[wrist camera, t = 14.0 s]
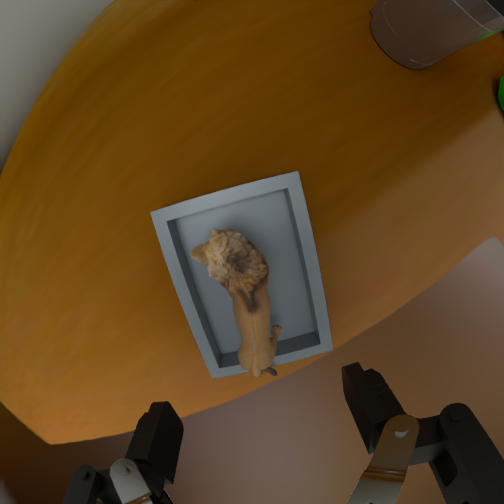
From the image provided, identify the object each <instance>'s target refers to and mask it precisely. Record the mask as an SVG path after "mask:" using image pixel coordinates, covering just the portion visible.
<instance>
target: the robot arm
mask: <svg viewBox="0 0 504 504" xmlns="http://www.w3.org/2000/svg"><path fill="white" fill-rule="evenodd" d="M370 12H371V14H372V20H371V30H372V34H373V36H374V38H375V40H376V41H377V43H378V44H379V46H380V47H381V48H382V49H383V51H384V52H385V53H386V54H388V55H389V56H390V57H391V58H392V59H393V60H395V61H396V62H398V63H399V64H401V65H403V66H405V67H408V68H411V69H423V68H425V67H427V66H429V65H432V64H434V63H435V62H437V61H438V60H440V59H443V58H444V57H446V56H448V55H450V54H452V53H454V52H456V51H458V50H460V49H462V48H464V47H466V46H469V45H471V44H473V43H475V42H477V41H479V40H481V39H484V38H486V37H488V36H490V35H493V34H495V33H497V32H500V31H502V30H504V0H379V1H378V2H377V3H376V5H375V6H374V7H373V8H372V9H371V11H370ZM342 380H343V391H344V395H345V399H346V402H347V404H348V406H349V409H350V411H351V413H352V416H353V418H354V420H355V423H356V425H357V427H358V430H359V432H360V434H361V437H362V439H363V442H364V444H365V446H366V449H367V451H368V454H371V453H374V454H373V456H372V458H371V461H370V463H369V465H368V467H367V469H366V470H365V471H364V472H363V474H362V476H361V477H360V479H359V481H358V483H357V486H356V487H355V489H354V491H353V493H352V495H351V497H350V498H349V500H348V502H347V504H395V502H396V500H397V497H398V495H399V493H400V490H401V487H402V485H403V482H404V479H405V476H406V472H407V469H408V466H410V465H415V464H420V463H424V462H428V463H429V465H430V467H431V469H432V471H433V474H434V476H435V478H436V481H437V483H438V485H439V488H440V490H441V492H442V495H443V497H444V500H445V502H446V504H504V460H503V458H502V456H501V455H500V453H499V452H498V450H497V448H496V447H495V445H494V444H493V442H492V441H491V439H490V438H489V436H488V434H487V433H486V431H485V430H484V429H483V427H482V426H481V424H480V423H479V421H478V420H477V418H476V417H475V416H474V414H473V413H472V411H471V410H470V408H469V407H467V406H466V405H465V404H462V403H454V404H450V405H448V406H446V407H445V408H444V409H443V410H442V412H441V413H440V415H437V416H433V417H428V418H421V419H419V418H414V417H413V416H411V415H408V414H406V413H405V411H404V410H403V408H402V407H401V405H400V403H399V402H398V400H397V399H396V397H395V396H394V394H393V392H392V391H391V390H390V388H389V387H388V385H387V383H386V382H385V380H384V379H383V377H382V376H381V374H380V373H378V372H376V371H375V370H373V369H369V370H366V371H363V369H362V367H361V365H360V364H359V363H358V362H355V363H352V364H350V365H346V366H344V367H342ZM183 431H184V428H183V424H182V421H181V420H180V418H179V416H178V415H177V413H176V412H175V410H174V409H173V407H172V406H171V404H170V403H169V402H168V401H164V402H153V403H152V404H151V406H150V409H149V412H147V413H144V415H143V416H142V417H141V418H140V419H139V421H138V424H137V426H136V429H135V432H134V436H133V437H132V440H131V442H130V445H129V448H128V451H127V453H126V456H125V459H122V460H119V461H117V462H116V463H114V464H113V465H112V467H111V469H106V470H99V471H97V470H95V468H93V467H92V466H91V465H88V464H85V465H81V466H79V467H78V468H77V469H76V470H75V471H74V473H73V476H72V478H71V481H70V484H69V486H68V489H67V492H66V495H65V497H64V500H63V503H62V504H96V501H97V500H99V501H100V503H99V504H174V503H173V502H172V500H171V499H170V497H169V496H168V494H167V493H166V491H165V490H164V489H163V488H164V484H173V483H174V477H175V473H176V467H177V462H178V457H179V452H180V446H181V442H182V437H183Z"/></svg>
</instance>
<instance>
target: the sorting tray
mask: <svg viewBox="0 0 504 504" xmlns="http://www.w3.org/2000/svg"><path fill="white" fill-rule="evenodd" d="M150 213H151V216H152V220H153V223H154V226H155V230H156V233H157V236H158V239H159V242H160V246H161V249H162V252H163V255H164V258H165V261H166V264H167V267H168V269H169V272H170V275H171V278H172V281H173V284H174V286H175V289H176V292H177V295H178V297H179V300H180V303H181V305H182V308H183V310H184V313H185V316H186V318H187V321H188V323H189V326H190V328H191V330H192V333H193V335H194V338H195V340H196V343H197V345H198V347H199V350H200V352H201V354H202V356H203V359H204V361H205V363H206V366H207V368H208V370H209V372H210V374H211V377H212V378H218V377H224V376H229V375H235V374H240V373H245V372H250V371H249V370H248V371H246V370H244V369H243V368H242V367H241V365H240V362H239V359H238V349H239V347H240V345H241V335H240V332H239V329H238V326H237V323H236V320H235V316H234V311H233V299H232V297H231V296H230V295H229V293H228V291H227V289H225V288H224V287H223V286H221V284H220V283H218V282H217V281H216V279H214V278H210V276H209V271H208V269H207V267H206V266H204V265H203V263H199V262H197V261H196V260H195V259H192V257H191V255H190V254H191V251H192V249H193V248H195V247H196V246H197V245H200V244H204V243H205V242H207V241H209V239H210V238H211V234H212V230H213V229H217V230H226V229H227V228H230V229H232V230H236V231H237V232H238V233H241V234H242V235H245V236H246V237H247V239H248V240H249V241H251V242H253V243H254V245H255V246H256V247H257V248H258V249H259V251H260V252H261V253H262V254H263V255H264V258H265V260H266V263H267V264H268V268H269V275H268V284H267V287H266V289H267V291H268V295H269V299H270V328H271V326H272V325H280V326H281V328H282V331H281V334H280V336H279V337H278V340H277V349H276V355H275V358H274V360H273V361H272V363H271V364H270V365H269V366H268V367H272V366H276V365H280V364H284V363H288V362H292V361H296V360H299V359H303V358H307V357H310V356H314V355H317V354H320V353H324V352H327V351H330V350H333V346H332V339H331V332H330V325H329V319H328V313H327V306H326V300H325V295H324V289H323V283H322V278H321V272H320V267H319V262H318V257H317V252H316V247H315V242H314V237H313V233H312V228H311V223H310V219H309V214H308V210H307V206H306V201H305V197H304V193H303V189H302V185H301V181H300V177H299V173H298V171H296V172H292V173H287V174H283V175H279V176H275V177H271V178H267V179H262V180H259V181H255V182H251V183H247V184H243V185H239V186H236V187H232V188H228V189H225V190H221V191H218V192H214V193H211V194H207V195H204V196H200V197H197V198H194V199H190V200H187V201H184V202H181V203H177V204H174V205H171V206H168V207H165V208H162V209H159V210H156V211H153V212H150ZM269 338H270V330H269Z"/></svg>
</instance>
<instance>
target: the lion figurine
mask: <svg viewBox="0 0 504 504" xmlns="http://www.w3.org/2000/svg"><path fill="white" fill-rule="evenodd" d="M190 255H191V257H192V259H195V260H196V261H197V262H199V263H203V265H204V266H206V267H207V269H208V271H209V276H210V278H214V279H216V281H217V282H218V283H220V284H221V286H223V287H224V288H225V289H227V291H228V293H229V295H230V296H231V297H232V299H233V311H234V316H235V320H236V323H237V326H238V329H239V332H240V335H241V345H240V347H239V349H238V359H239V362H240V365H241V367H242V368H243V369H244V370H246V371H248V370H249V371H250V372H251V373H252V375H253V376H254V377H260V376H261V375H262V374H263V373H264V372H269V373H270V374H272V375H273V376H277V373H276V370H275V369H273V368H270V367H268V366H269V365H270V364H271V363H272V361H273V360H274V358H275V355H276V349H277V340H278V337H279V336H280V334H281V331H282V328H281V326H280V325H272V326H271V328H270V299H269V295H268V291H267V289H266V287H267V284H268V275H269V268H268V264H267V263H266V260H265V258H264V255H263V254H262V253H261V252H260V251H259V249H258V248H257V247H256V246H255V245H254V243H253V242H251V241H249V240H248V239H247V237H246V236H245V235H242V234H241V233H238V232H237V231H236V230H232V229H230V228H227V229H226V230H217V229H213V230H212V234H211V238H210V239H209V241H207V242H205V243H204V244H200V245H197V246H196V247H195V248H193V249H192V251H191V254H190ZM269 330H270V338H269Z"/></svg>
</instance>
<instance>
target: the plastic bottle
mask: <svg viewBox="0 0 504 504" xmlns="http://www.w3.org/2000/svg"><path fill="white" fill-rule="evenodd" d="M498 98H499V102H500V106H501V108H502V109H503V111H504V75H503V76H502V77H501V79H500V84H499V90H498Z"/></svg>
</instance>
